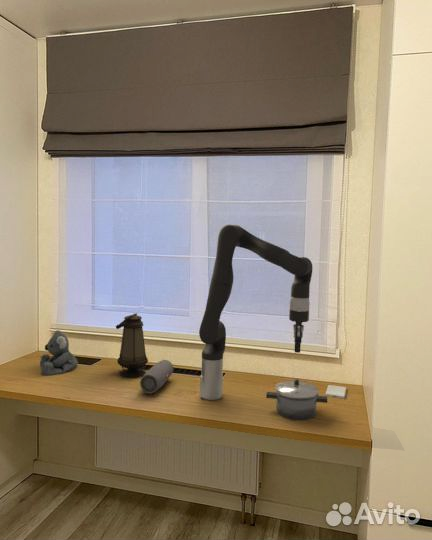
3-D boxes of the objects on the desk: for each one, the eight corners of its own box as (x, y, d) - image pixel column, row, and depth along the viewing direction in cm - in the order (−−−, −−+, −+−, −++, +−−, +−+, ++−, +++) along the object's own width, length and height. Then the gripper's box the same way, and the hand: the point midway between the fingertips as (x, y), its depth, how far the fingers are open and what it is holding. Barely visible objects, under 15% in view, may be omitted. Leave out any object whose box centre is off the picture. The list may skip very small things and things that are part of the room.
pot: (265, 417, 173) (265, 397, 172) (266, 401, 188) (267, 383, 188) (328, 422, 169) (329, 402, 168) (324, 406, 185) (325, 387, 184)
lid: (274, 398, 171) (275, 389, 171) (275, 383, 189) (276, 375, 189) (319, 402, 168) (320, 393, 168) (316, 386, 186) (316, 378, 186)
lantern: (139, 381, 209) (140, 318, 207) (110, 378, 213) (110, 316, 210) (154, 369, 227) (154, 311, 224) (126, 366, 231) (127, 309, 228)
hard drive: (328, 384, 208) (325, 393, 196) (346, 387, 205) (344, 396, 194) (328, 388, 208) (325, 397, 196) (346, 390, 205) (344, 400, 194)
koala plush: (39, 366, 228) (38, 329, 226) (75, 362, 235) (75, 326, 234) (41, 377, 212) (40, 337, 210) (80, 372, 220) (80, 334, 218)
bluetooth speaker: (159, 397, 191) (159, 374, 190) (138, 395, 193) (138, 372, 192) (174, 379, 213) (174, 359, 212) (156, 378, 215) (156, 357, 214)
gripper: (289, 305, 179) (287, 347, 181) (289, 311, 166) (287, 356, 168) (308, 306, 178) (306, 348, 180) (310, 312, 165) (307, 357, 167)
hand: (297, 352), depth 174 cm, fingers closed
